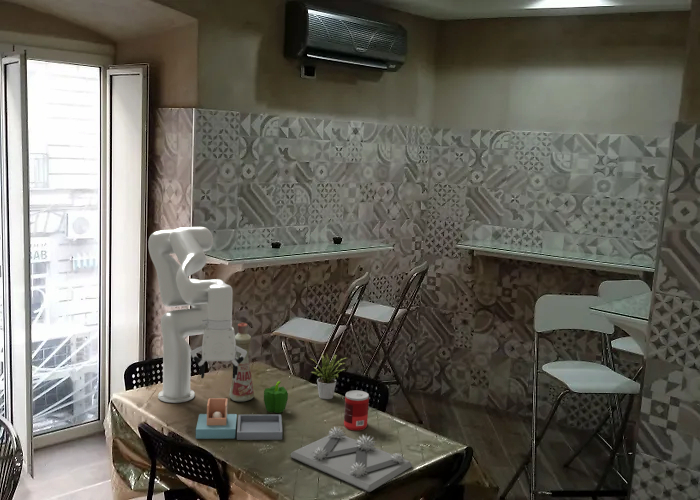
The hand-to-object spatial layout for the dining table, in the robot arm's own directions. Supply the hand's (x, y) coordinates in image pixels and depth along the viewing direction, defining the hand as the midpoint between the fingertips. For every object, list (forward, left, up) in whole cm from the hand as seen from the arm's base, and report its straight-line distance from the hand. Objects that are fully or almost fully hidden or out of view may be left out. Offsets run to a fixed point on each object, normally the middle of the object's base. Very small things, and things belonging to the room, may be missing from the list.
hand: (218, 377), depth 210 cm
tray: (0, +13, -18) cm, 22 cm away
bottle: (-28, +7, -18) cm, 34 cm away
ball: (0, 0, -13) cm, 13 cm away
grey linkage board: (+23, +40, -19) cm, 50 cm away
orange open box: (0, 0, -15) cm, 15 cm away
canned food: (-3, +45, -18) cm, 48 cm away
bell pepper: (-16, +19, -18) cm, 31 cm away
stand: (0, 0, -18) cm, 18 cm away
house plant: (-29, +39, -18) cm, 52 cm away
